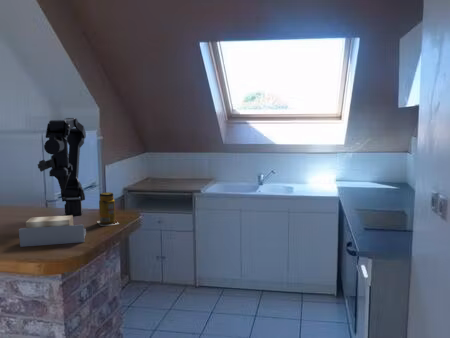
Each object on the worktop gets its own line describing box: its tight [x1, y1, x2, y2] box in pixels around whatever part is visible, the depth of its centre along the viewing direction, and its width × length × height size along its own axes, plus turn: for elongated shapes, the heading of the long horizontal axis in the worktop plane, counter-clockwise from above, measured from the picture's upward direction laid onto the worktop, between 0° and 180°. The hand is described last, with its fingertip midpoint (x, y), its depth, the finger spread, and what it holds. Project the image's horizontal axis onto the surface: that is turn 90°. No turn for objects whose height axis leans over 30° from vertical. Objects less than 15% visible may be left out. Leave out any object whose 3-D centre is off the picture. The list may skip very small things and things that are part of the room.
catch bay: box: [18, 223, 87, 248], centre depth 154 cm, size 11×20×6 cm, turn 102°
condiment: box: [96, 191, 120, 227], centre depth 176 cm, size 7×8×12 cm
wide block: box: [25, 215, 74, 228], centre depth 153 cm, size 14×7×8 cm, turn 99°
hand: (62, 191), depth 176 cm, fingers closed
